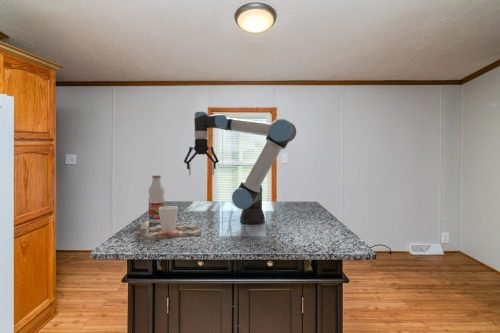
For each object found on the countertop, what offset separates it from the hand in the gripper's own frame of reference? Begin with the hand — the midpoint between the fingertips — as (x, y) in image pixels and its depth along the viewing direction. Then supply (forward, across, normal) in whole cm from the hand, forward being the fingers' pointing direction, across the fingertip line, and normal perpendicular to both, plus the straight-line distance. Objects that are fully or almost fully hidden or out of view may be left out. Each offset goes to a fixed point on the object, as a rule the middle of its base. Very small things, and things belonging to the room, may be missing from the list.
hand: (201, 174), depth 174 cm
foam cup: (+28, +19, +19) cm, 39 cm away
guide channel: (+29, +18, +19) cm, 38 cm away
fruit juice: (+29, +26, -10) cm, 40 cm away
